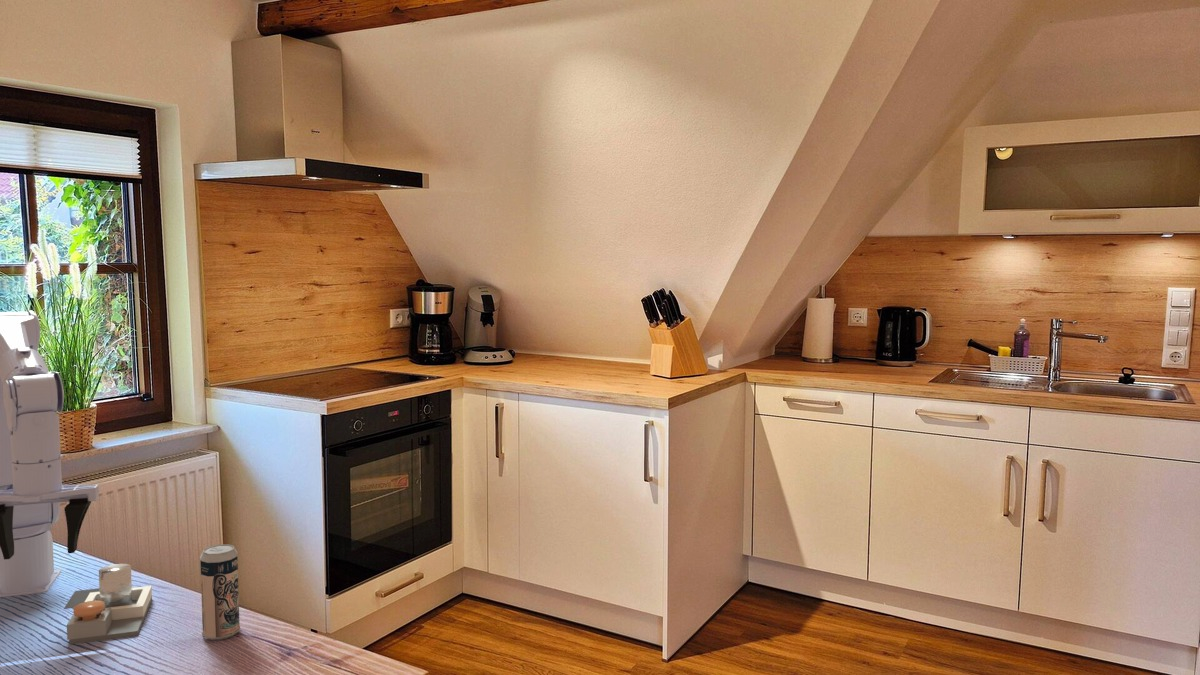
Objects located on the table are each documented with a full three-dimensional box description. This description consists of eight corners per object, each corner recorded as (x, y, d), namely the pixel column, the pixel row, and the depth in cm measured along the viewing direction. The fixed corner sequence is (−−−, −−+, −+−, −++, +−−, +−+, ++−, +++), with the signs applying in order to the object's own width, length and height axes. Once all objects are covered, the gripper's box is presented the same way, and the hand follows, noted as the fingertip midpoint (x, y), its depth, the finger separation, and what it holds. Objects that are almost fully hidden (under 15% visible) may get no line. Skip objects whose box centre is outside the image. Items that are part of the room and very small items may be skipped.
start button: (77, 625, 114) (76, 602, 114) (107, 621, 115) (107, 599, 115) (71, 636, 111) (70, 612, 110) (102, 632, 112) (101, 609, 112)
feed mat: (75, 593, 128) (75, 590, 128) (126, 587, 131) (126, 585, 131) (63, 611, 122) (63, 608, 122) (118, 604, 124) (118, 602, 124)
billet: (103, 605, 121) (101, 565, 121) (134, 602, 123) (133, 562, 122) (97, 616, 117) (96, 575, 117) (129, 612, 119) (128, 571, 118)
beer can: (225, 643, 112) (223, 556, 111) (194, 640, 113) (191, 553, 112) (247, 628, 116) (245, 544, 115) (217, 625, 117) (214, 542, 116)
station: (89, 609, 122) (88, 589, 122) (152, 601, 125) (151, 582, 125) (67, 647, 110) (66, 625, 110) (137, 638, 113) (137, 616, 113)
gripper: (-36, 469, 111) (-31, 569, 112) (89, 461, 116) (93, 557, 117) (-18, 458, 118) (-13, 552, 119) (100, 451, 123) (104, 541, 124)
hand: (41, 554), depth 118 cm, fingers open, 7 cm apart
